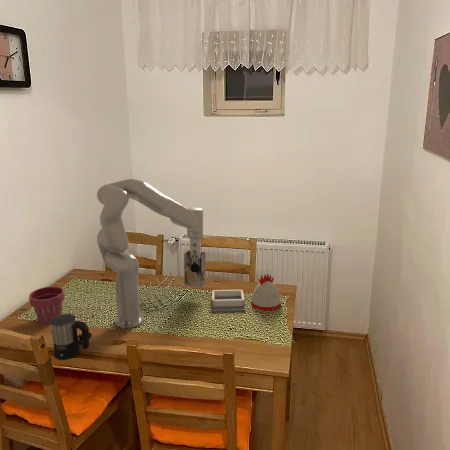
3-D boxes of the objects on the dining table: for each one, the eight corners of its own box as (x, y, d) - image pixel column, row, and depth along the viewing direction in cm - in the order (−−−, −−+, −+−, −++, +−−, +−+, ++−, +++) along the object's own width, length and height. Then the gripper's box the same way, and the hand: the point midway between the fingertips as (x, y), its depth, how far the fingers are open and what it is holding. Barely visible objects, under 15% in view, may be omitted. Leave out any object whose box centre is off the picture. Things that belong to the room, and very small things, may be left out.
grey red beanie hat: (246, 301, 215) (246, 272, 211) (270, 295, 221) (270, 267, 217) (261, 312, 203) (261, 282, 199) (286, 306, 210) (287, 276, 206)
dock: (245, 311, 204) (245, 303, 203) (212, 312, 204) (212, 304, 203) (242, 293, 224) (242, 286, 223) (212, 294, 223) (212, 286, 222)
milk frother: (52, 362, 166) (48, 326, 162) (56, 341, 181) (52, 307, 177) (92, 356, 170) (88, 321, 166) (92, 336, 184) (89, 303, 180)
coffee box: (206, 283, 219) (206, 251, 215) (201, 287, 213) (201, 255, 209) (188, 280, 222) (188, 250, 218) (183, 285, 216) (183, 253, 212)
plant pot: (36, 330, 189) (32, 302, 186) (29, 317, 201) (26, 291, 197) (70, 321, 197) (67, 294, 194) (62, 309, 208) (59, 283, 205)
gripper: (202, 239, 203) (202, 275, 207) (203, 229, 220) (203, 262, 224) (186, 238, 203) (186, 275, 207) (187, 229, 220) (188, 262, 224)
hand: (195, 268), depth 216 cm, fingers closed on coffee box, 7 cm apart
